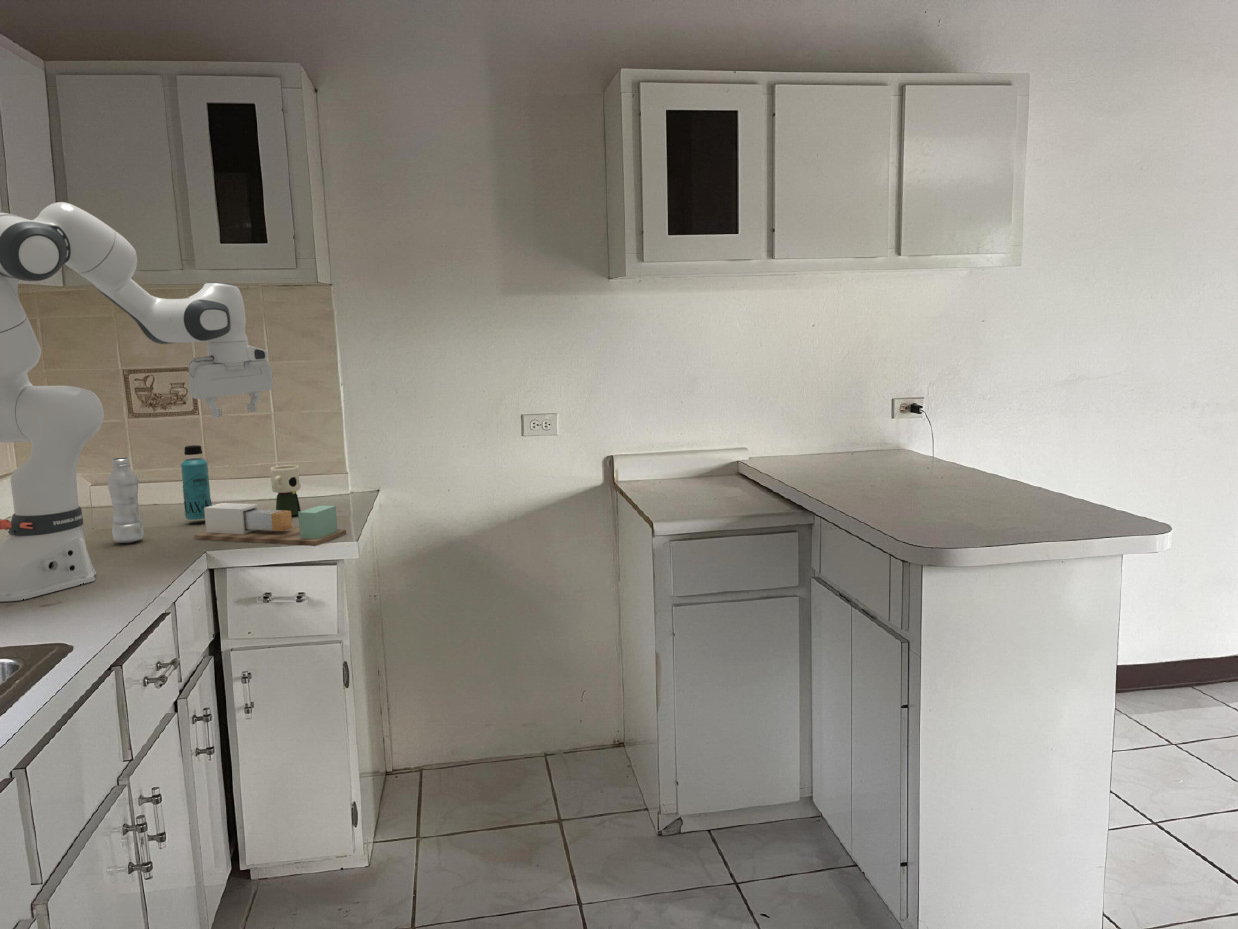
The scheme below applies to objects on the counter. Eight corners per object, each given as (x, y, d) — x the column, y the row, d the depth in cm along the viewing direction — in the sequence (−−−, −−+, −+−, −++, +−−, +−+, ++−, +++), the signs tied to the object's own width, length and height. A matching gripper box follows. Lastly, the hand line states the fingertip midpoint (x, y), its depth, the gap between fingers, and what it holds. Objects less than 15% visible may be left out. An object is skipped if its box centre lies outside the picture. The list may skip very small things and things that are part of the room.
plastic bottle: (106, 545, 220) (97, 460, 217) (131, 538, 227) (122, 455, 223) (127, 546, 218) (117, 461, 215) (151, 540, 224) (142, 456, 221)
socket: (300, 538, 217) (298, 512, 216) (321, 530, 225) (319, 505, 224) (317, 539, 216) (315, 512, 215) (337, 531, 223) (335, 506, 222)
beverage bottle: (180, 524, 241) (172, 446, 238) (202, 519, 247) (194, 443, 244) (197, 526, 238) (189, 447, 235) (219, 521, 244) (212, 444, 241)
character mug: (291, 520, 243) (287, 470, 241) (265, 520, 244) (261, 470, 242) (310, 511, 253) (307, 463, 251) (285, 511, 254) (281, 463, 252)
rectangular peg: (212, 527, 227) (211, 511, 226) (224, 524, 230) (222, 507, 230) (281, 530, 221) (280, 514, 220) (292, 527, 225) (290, 510, 224)
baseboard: (194, 539, 224) (194, 535, 224) (229, 528, 235) (229, 524, 235) (316, 545, 214) (315, 541, 214) (346, 533, 225) (345, 529, 225)
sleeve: (206, 532, 226) (204, 507, 225) (223, 526, 232) (221, 502, 231) (243, 534, 223) (241, 509, 222) (260, 528, 229) (257, 504, 228)
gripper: (196, 357, 206) (203, 420, 209) (274, 351, 224) (279, 409, 226) (179, 357, 210) (186, 419, 212) (256, 350, 227) (262, 408, 229)
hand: (235, 414), depth 219 cm, fingers open, 8 cm apart
